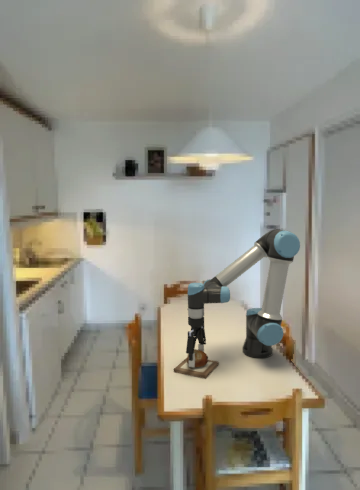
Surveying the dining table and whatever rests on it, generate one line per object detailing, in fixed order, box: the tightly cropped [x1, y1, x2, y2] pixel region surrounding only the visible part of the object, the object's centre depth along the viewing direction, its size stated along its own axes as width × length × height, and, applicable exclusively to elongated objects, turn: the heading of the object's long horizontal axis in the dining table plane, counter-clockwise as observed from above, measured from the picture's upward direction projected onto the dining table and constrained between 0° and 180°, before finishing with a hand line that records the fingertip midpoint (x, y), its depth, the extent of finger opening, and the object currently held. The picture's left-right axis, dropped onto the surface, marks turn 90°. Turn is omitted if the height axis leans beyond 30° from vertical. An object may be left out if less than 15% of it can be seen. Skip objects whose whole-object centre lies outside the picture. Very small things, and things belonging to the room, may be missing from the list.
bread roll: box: [186, 348, 209, 367], centre depth 177 cm, size 10×10×8 cm
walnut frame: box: [173, 357, 220, 380], centre depth 177 cm, size 16×16×2 cm
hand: (196, 362), depth 177 cm, fingers closed on bread roll, 10 cm apart
